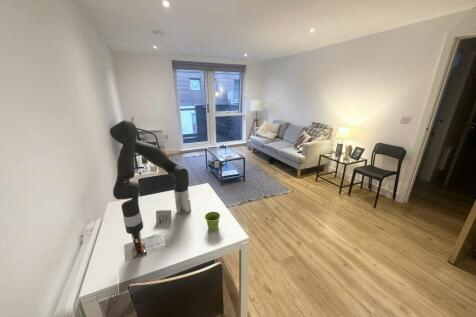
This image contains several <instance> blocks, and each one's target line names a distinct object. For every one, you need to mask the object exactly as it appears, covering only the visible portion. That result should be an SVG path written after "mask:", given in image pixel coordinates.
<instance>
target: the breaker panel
mask: <svg viewBox="0 0 476 317" xmlns="http://www.w3.org/2000/svg"><path fill="white" fill-rule="evenodd" d="M142 242H143V247H144V252H142V254H139V255H136V254H135V250H134V246H133V241H131V242H129V243H126V244H124V245H123V247H124V248H123V250H124V262H125V263H127V262H130V261H131V260H135V259H138V258H141V257H143V256H146V255H148V254H151V253H155V252H157V251H159V250H162V249H164V248H167V247H168V245H167V242H166V239H165V235H164V232H159V233H155V234H152V235H150V236H146V237H144V238H142Z"/></svg>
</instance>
